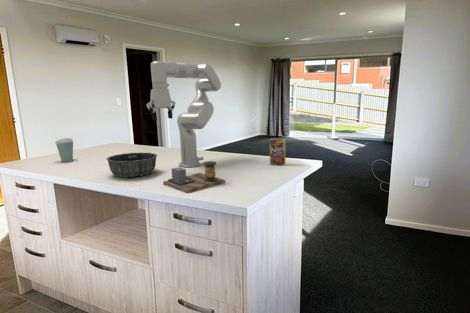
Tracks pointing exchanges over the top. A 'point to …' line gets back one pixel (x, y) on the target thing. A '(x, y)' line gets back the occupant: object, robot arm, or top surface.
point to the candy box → (277, 151)
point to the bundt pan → (132, 164)
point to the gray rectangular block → (179, 175)
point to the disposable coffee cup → (65, 149)
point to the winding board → (197, 180)
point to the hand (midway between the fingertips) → (162, 119)
